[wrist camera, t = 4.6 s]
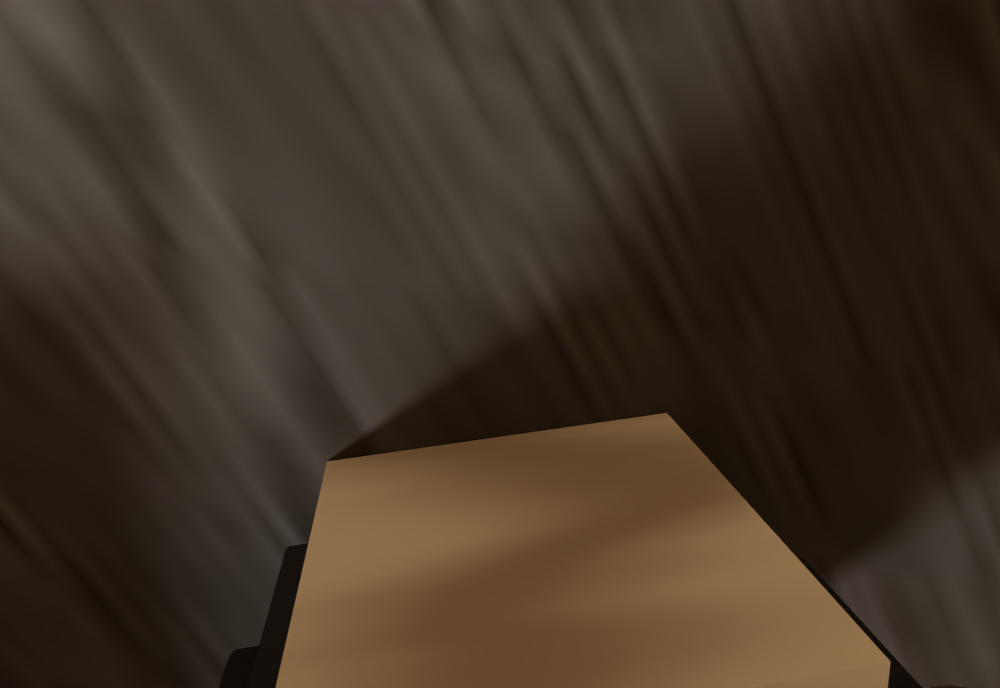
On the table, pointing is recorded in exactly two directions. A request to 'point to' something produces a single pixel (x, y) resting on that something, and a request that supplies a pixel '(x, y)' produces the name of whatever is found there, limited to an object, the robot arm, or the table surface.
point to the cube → (559, 573)
